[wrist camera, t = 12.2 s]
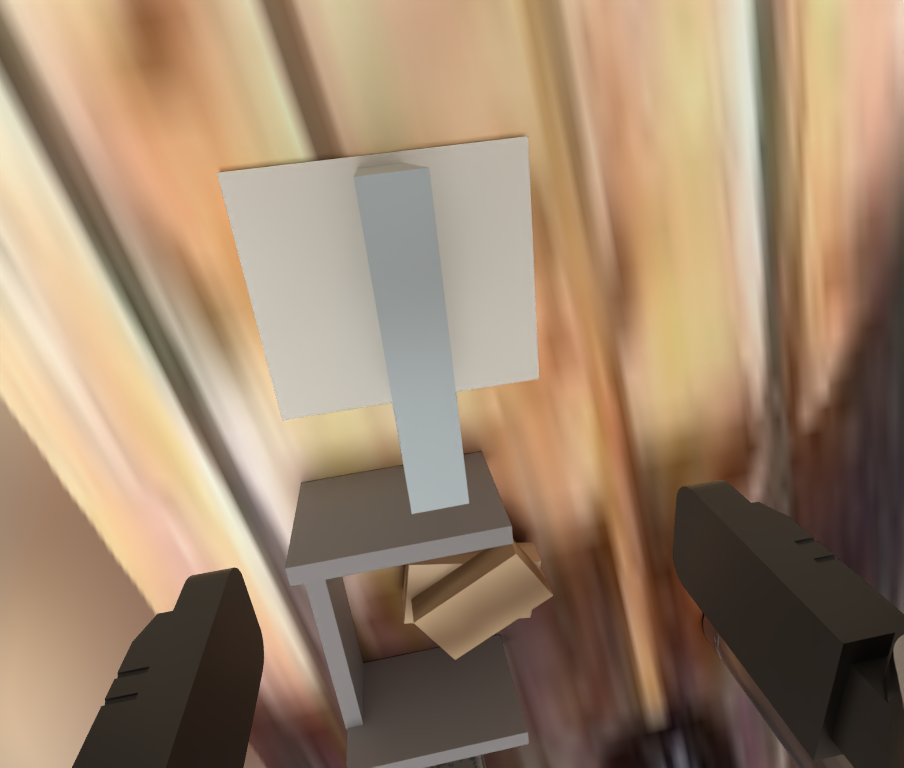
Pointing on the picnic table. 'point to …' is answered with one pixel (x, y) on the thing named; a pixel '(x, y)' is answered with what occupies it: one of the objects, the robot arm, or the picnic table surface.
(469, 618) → the offcut
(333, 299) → the mat
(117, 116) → the picnic table surface
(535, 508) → the picnic table surface
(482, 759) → the decorative stone tablet
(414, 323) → the grey flat slab
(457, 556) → the offcut
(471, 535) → the rack
